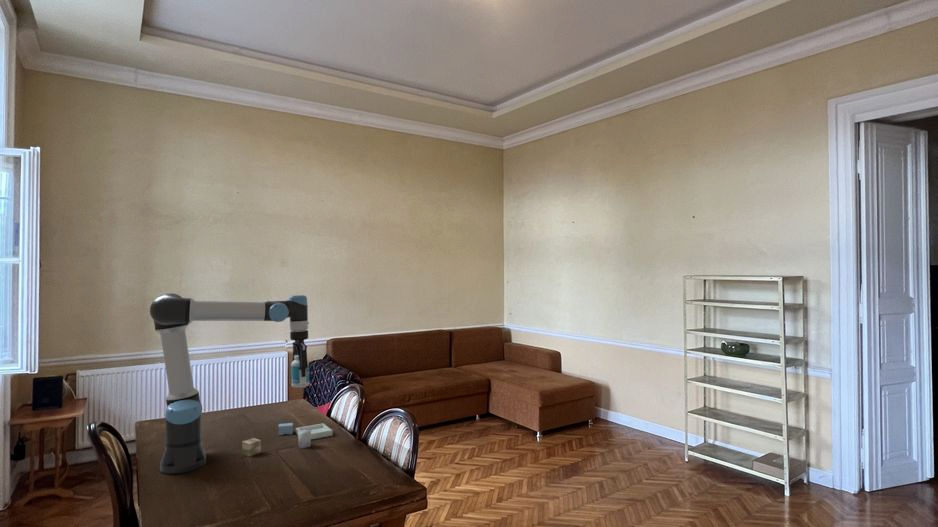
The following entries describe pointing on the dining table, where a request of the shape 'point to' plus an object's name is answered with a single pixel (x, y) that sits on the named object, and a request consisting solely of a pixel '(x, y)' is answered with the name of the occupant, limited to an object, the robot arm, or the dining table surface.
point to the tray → (317, 430)
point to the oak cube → (251, 447)
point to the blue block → (285, 428)
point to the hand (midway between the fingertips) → (300, 382)
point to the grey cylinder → (304, 438)
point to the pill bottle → (295, 373)
